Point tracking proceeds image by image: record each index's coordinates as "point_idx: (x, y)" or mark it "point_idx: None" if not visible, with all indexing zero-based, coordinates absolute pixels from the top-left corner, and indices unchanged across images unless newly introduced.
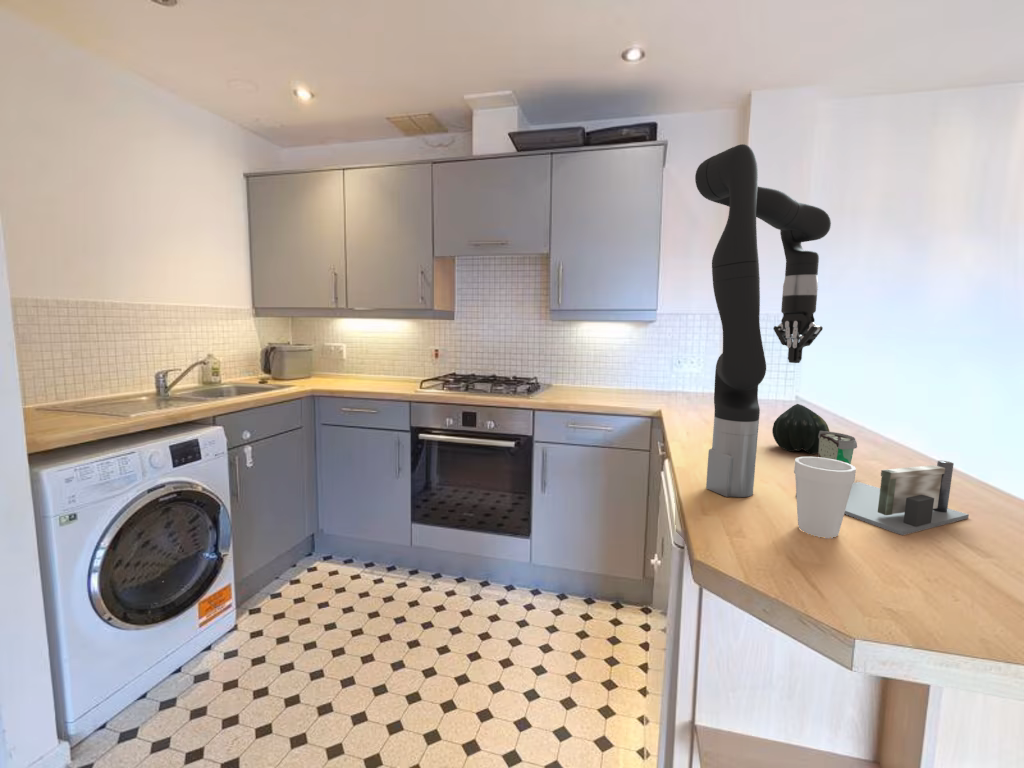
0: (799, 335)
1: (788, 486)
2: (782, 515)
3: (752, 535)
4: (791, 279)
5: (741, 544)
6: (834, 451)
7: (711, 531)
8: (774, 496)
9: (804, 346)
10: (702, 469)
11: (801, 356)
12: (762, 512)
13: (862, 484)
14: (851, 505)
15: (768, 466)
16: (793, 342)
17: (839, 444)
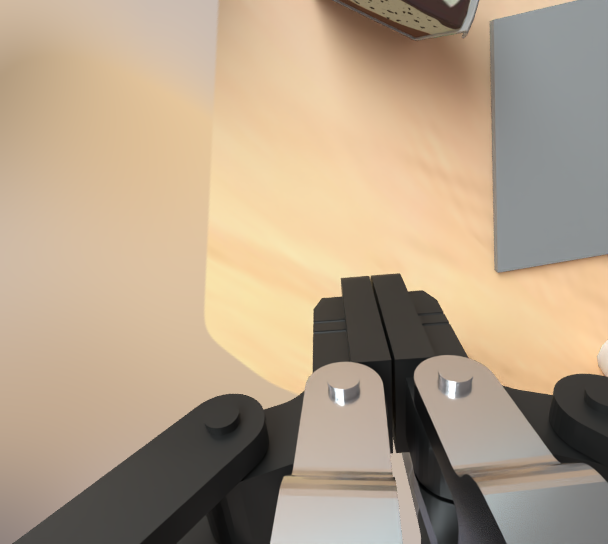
0: (397, 539)
1: (436, 234)
2: (555, 360)
3: None
4: None
5: None
6: (422, 20)
7: None
8: (477, 310)
9: (541, 409)
10: (283, 343)
11: (442, 316)
12: (531, 381)
13: (514, 31)
14: (601, 214)
15: (280, 161)
16: (435, 535)
17: (465, 33)
